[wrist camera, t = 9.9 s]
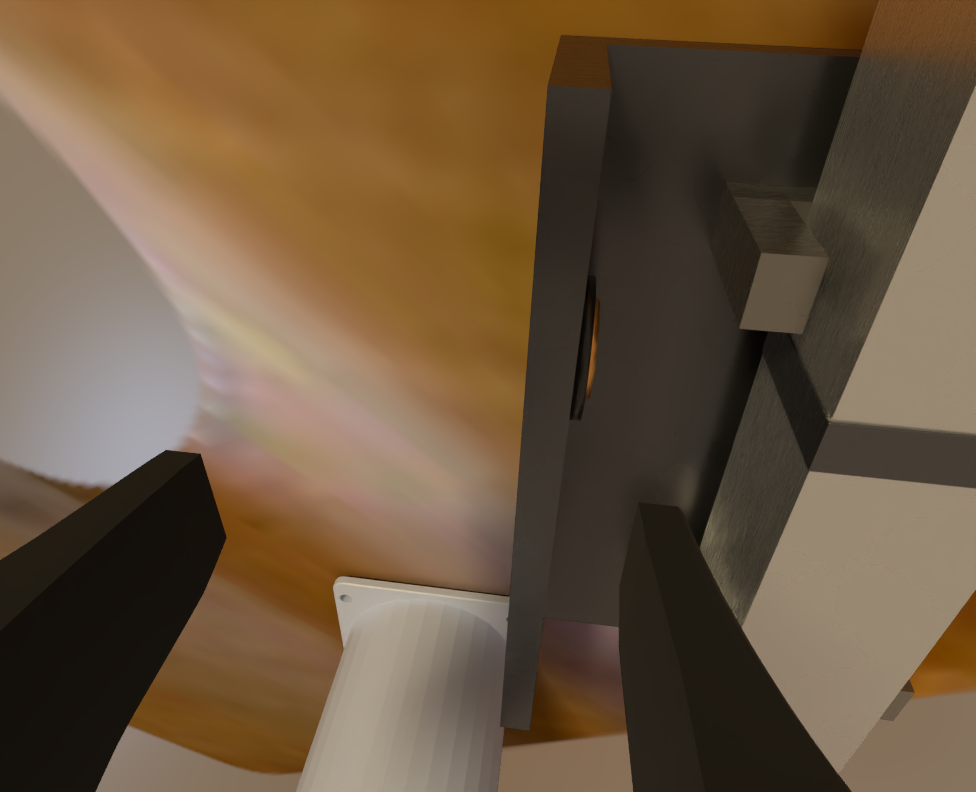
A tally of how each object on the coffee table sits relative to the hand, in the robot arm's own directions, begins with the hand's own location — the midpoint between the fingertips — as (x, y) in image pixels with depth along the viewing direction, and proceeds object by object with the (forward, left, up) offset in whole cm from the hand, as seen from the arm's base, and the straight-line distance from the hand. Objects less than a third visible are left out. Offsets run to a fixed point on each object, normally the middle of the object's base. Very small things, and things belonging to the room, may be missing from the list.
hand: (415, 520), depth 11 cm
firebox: (-4, -10, -9) cm, 14 cm away
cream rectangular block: (-2, -10, -7) cm, 12 cm away
